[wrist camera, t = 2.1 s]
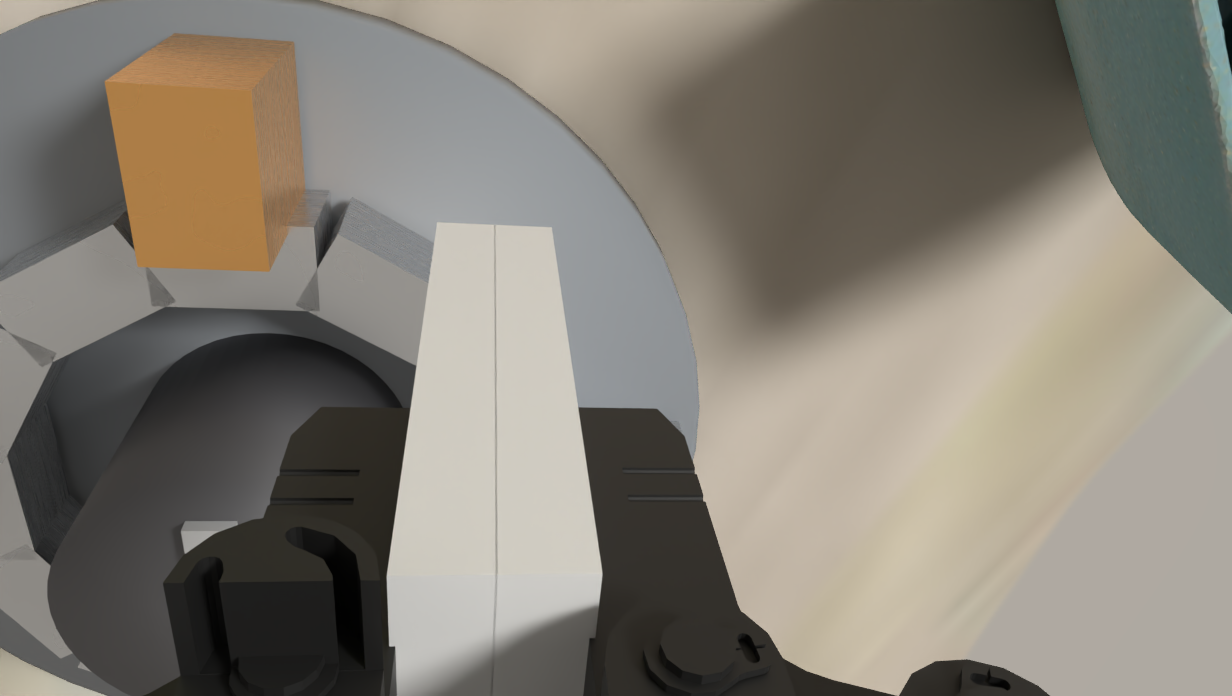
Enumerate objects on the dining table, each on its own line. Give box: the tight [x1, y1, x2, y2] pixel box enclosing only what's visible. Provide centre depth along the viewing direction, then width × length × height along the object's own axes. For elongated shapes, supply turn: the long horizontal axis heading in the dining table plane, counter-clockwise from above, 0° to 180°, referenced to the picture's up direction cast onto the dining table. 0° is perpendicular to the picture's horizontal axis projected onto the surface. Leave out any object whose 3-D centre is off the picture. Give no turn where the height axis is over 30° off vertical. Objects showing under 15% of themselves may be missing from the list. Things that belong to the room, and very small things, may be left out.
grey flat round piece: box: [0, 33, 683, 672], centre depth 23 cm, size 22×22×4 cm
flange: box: [0, 0, 699, 696], centre depth 23 cm, size 23×23×8 cm
